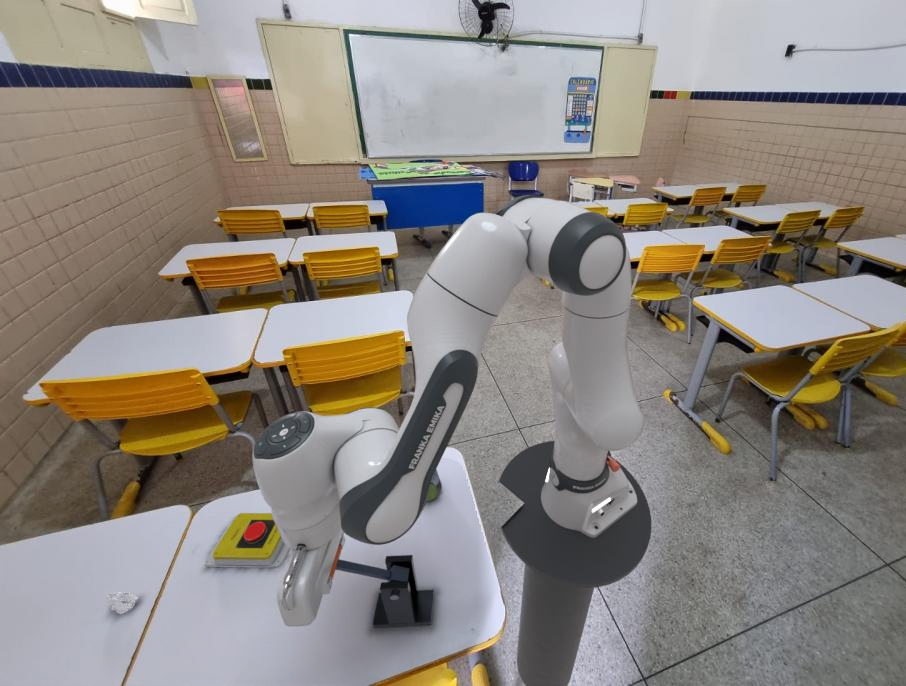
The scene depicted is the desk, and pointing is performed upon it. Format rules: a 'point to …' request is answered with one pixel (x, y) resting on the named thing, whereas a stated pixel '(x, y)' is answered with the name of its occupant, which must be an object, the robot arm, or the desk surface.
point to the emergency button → (249, 543)
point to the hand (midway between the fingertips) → (332, 566)
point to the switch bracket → (403, 599)
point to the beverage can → (434, 486)
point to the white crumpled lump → (118, 600)
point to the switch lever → (369, 570)
